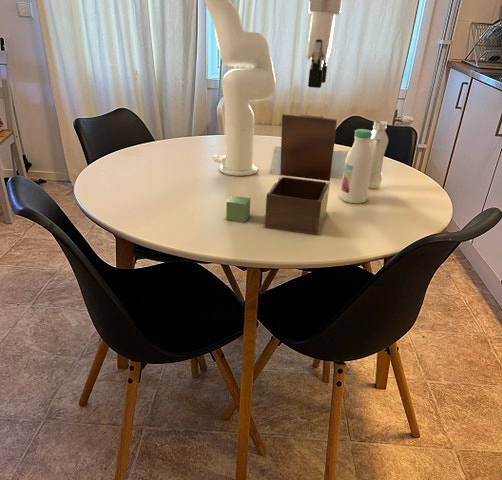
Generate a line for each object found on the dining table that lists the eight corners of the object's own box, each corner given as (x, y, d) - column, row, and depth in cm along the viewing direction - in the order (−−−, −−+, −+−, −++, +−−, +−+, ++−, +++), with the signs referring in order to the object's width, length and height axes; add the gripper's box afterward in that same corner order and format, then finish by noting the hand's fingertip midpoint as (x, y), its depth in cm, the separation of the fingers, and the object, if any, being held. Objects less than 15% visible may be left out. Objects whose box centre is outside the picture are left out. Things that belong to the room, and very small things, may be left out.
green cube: (226, 219, 125) (226, 201, 123) (232, 213, 129) (232, 195, 127) (244, 222, 124) (245, 204, 122) (249, 215, 128) (250, 197, 126)
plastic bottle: (380, 190, 150) (392, 125, 140) (358, 188, 151) (369, 123, 141) (380, 184, 156) (391, 120, 145) (358, 182, 157) (369, 119, 146)
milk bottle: (367, 197, 145) (379, 129, 134) (364, 205, 138) (376, 135, 128) (342, 193, 147) (352, 126, 136) (338, 201, 140) (347, 131, 130)
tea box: (317, 235, 119) (321, 201, 114) (264, 227, 122) (266, 194, 117) (326, 213, 132) (329, 182, 127) (278, 206, 135) (280, 176, 130)
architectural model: (355, 179, 160) (361, 135, 152) (271, 173, 161) (273, 130, 154) (347, 151, 190) (352, 114, 182) (276, 147, 191) (279, 110, 184)
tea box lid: (336, 120, 116) (339, 112, 120) (282, 115, 119) (286, 107, 123) (329, 181, 127) (332, 172, 131) (280, 175, 130) (284, 166, 134)
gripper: (313, 6, 122) (307, 79, 130) (304, 6, 107) (297, 88, 116) (343, 8, 120) (334, 81, 129) (337, 8, 106) (328, 90, 114)
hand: (316, 84), depth 122 cm, fingers open, 9 cm apart
